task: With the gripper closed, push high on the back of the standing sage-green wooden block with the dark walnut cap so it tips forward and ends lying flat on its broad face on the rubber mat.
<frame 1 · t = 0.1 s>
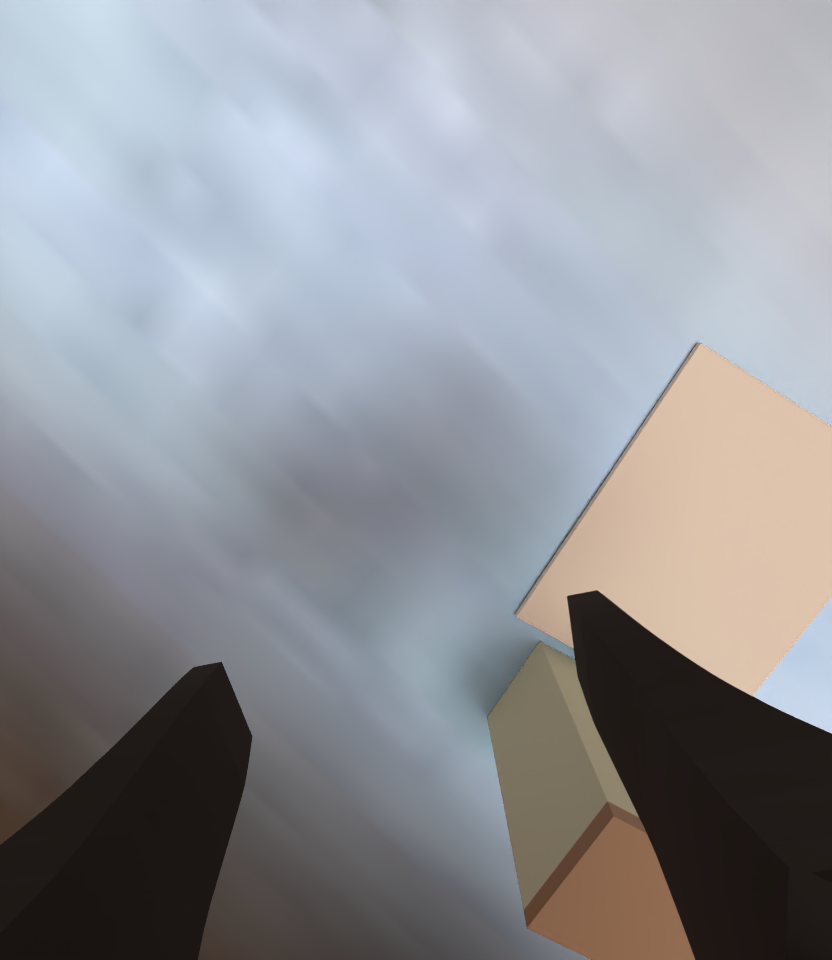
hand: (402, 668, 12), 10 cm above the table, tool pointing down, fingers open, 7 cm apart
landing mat: (709, 549, 22), on the table
sage block: (585, 718, 24), on the table
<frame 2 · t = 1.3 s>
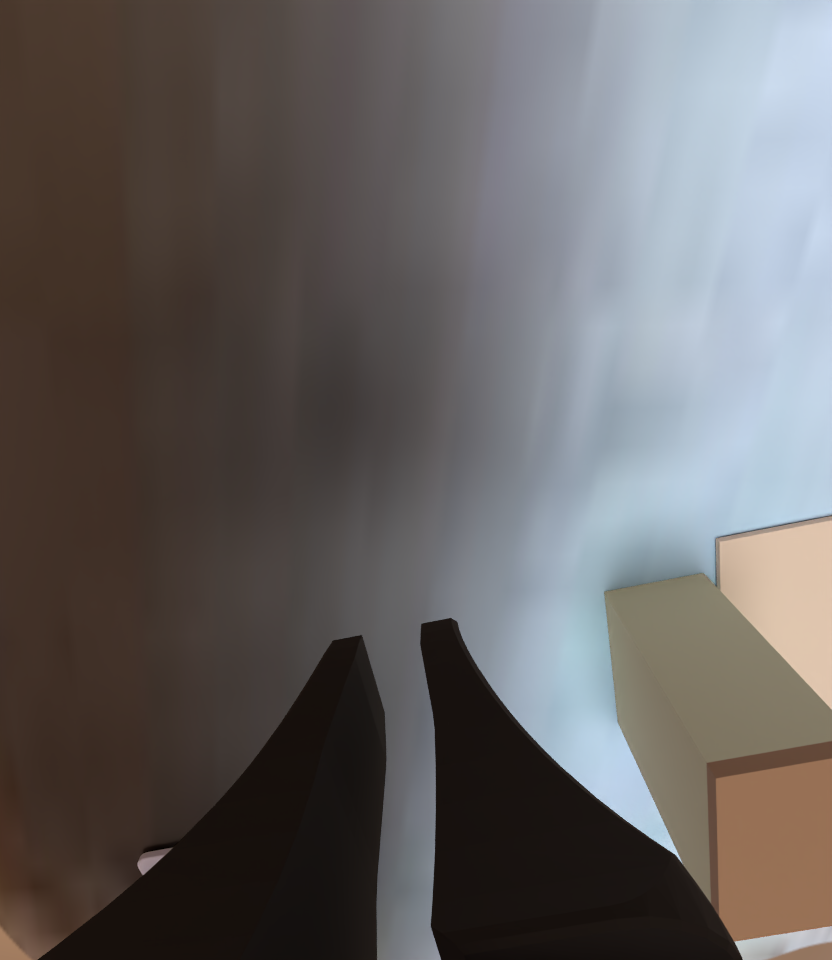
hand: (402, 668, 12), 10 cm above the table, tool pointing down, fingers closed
sage block: (658, 651, 25), on the table
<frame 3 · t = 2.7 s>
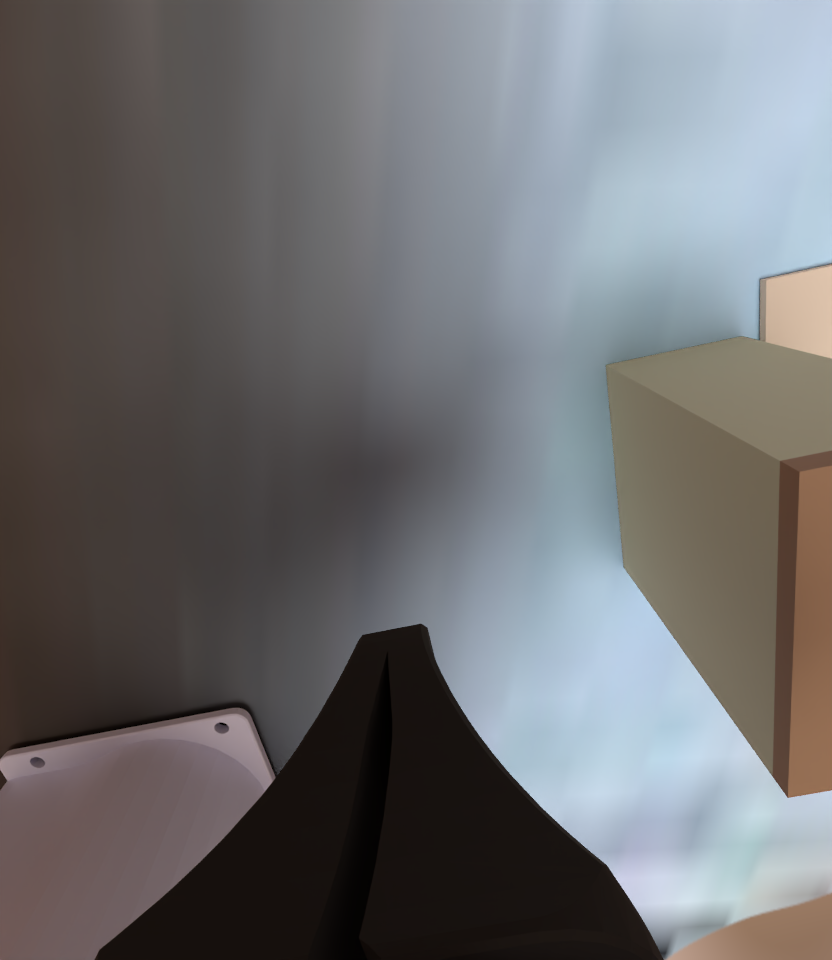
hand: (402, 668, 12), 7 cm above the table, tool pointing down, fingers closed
sage block: (678, 460, 18), on the table
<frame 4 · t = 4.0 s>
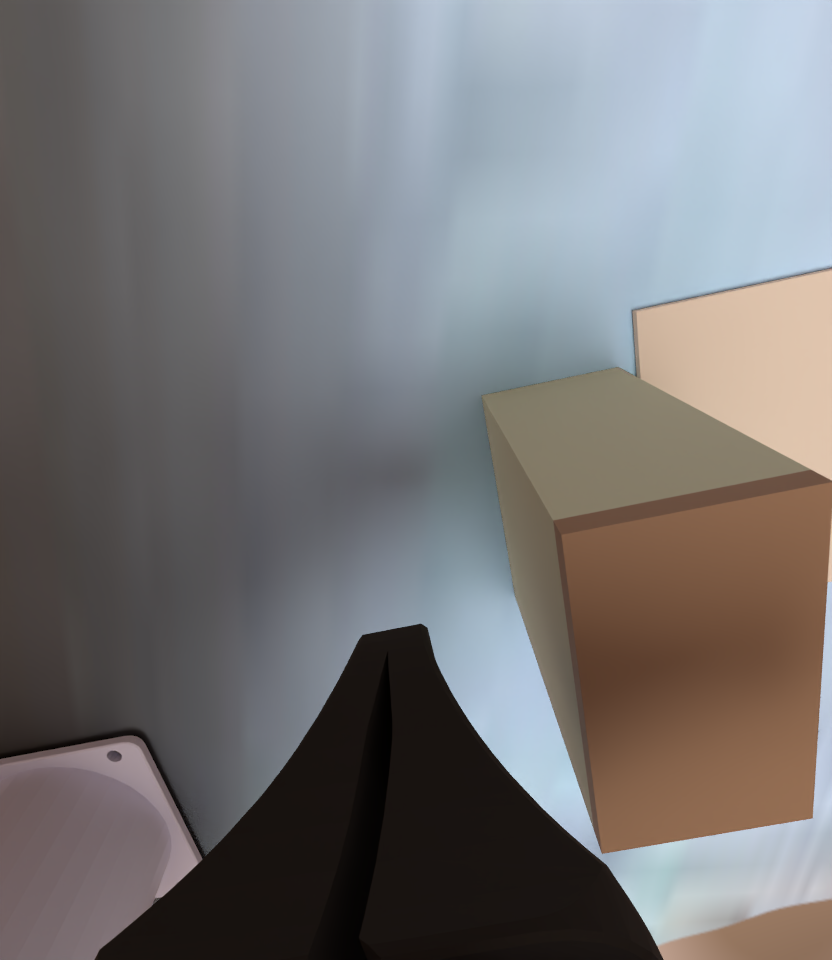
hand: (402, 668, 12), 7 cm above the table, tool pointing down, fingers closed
sage block: (562, 490, 18), on the table
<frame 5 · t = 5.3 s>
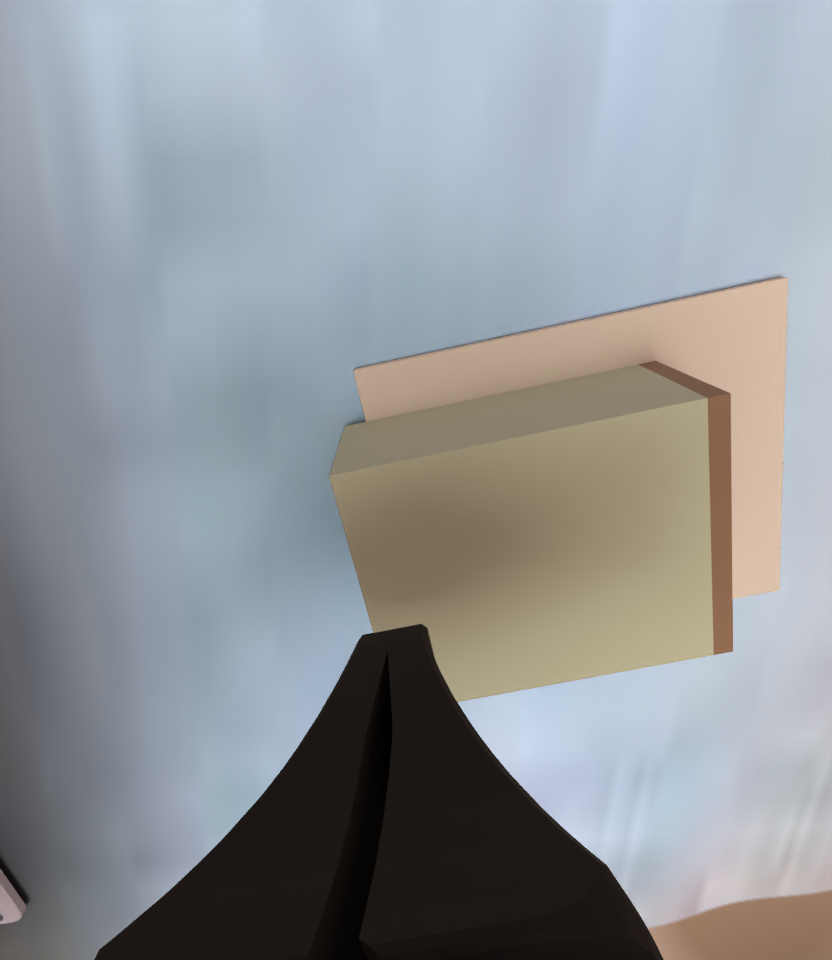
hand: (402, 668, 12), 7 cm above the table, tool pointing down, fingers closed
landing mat: (581, 486, 18), on the table
sage block: (369, 564, 16), point 2 cm above the table, tilted 90°, touching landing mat
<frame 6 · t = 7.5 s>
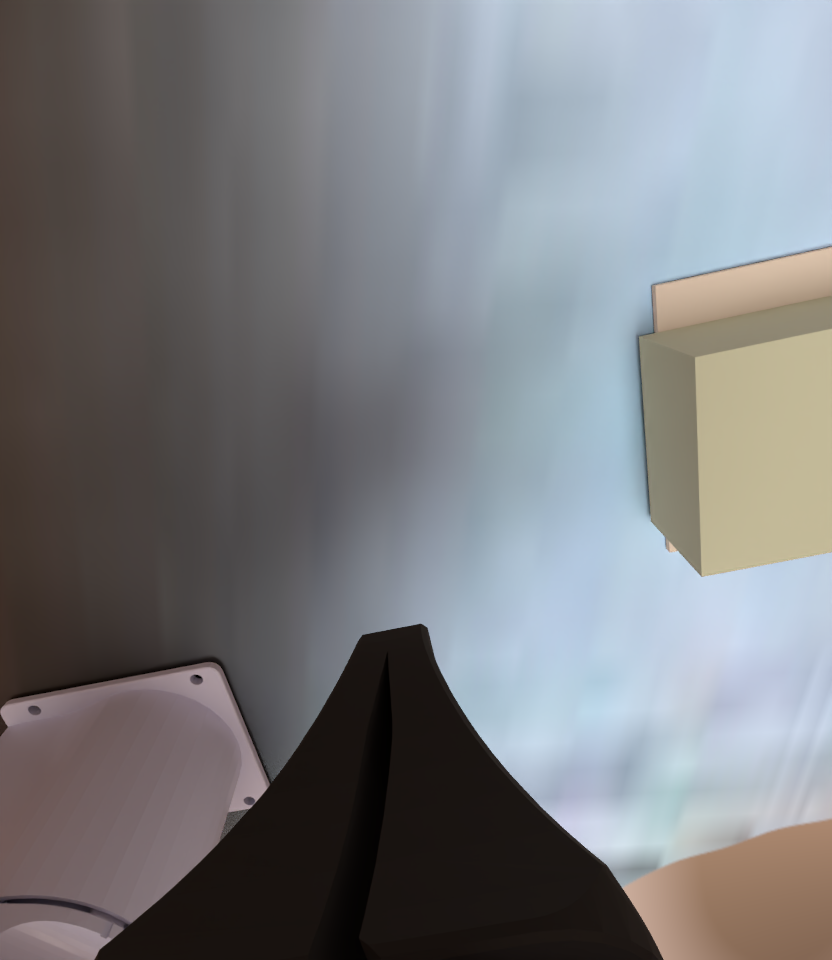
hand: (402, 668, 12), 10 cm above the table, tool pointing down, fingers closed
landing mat: (829, 394, 21), on the table
sage block: (669, 453, 19), point 2 cm above the table, tilted 90°, touching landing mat
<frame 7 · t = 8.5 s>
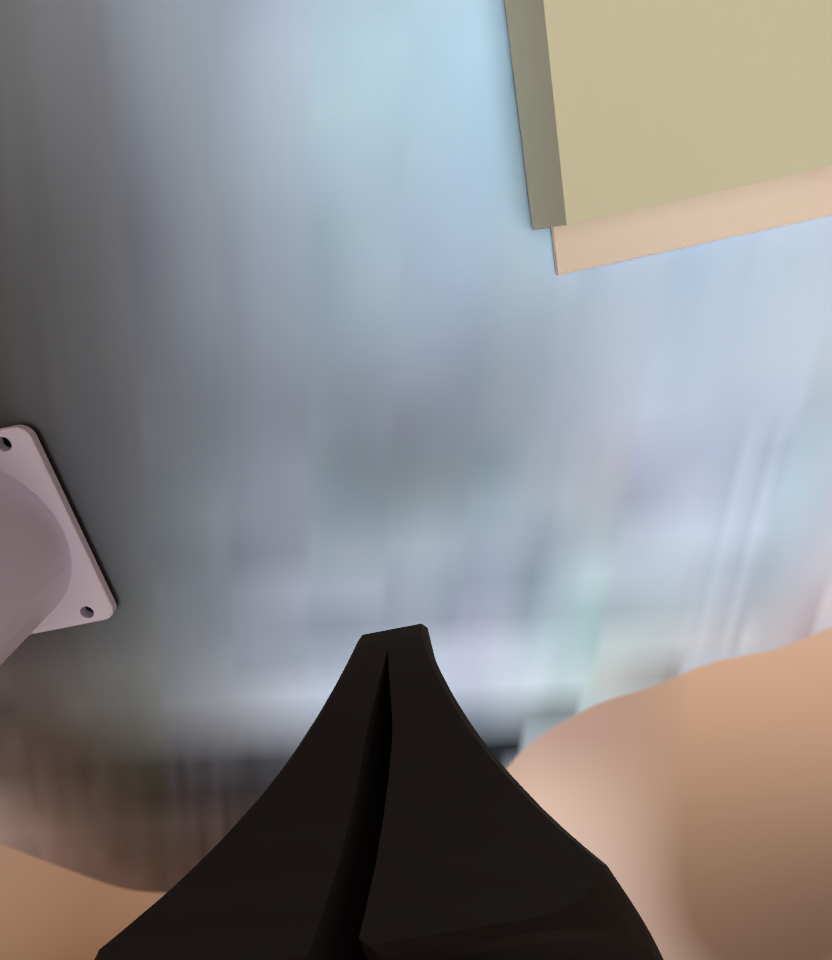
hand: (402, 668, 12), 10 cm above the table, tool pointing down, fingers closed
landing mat: (740, 51, 17), on the table
sage block: (531, 84, 15), point 2 cm above the table, tilted 90°, touching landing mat
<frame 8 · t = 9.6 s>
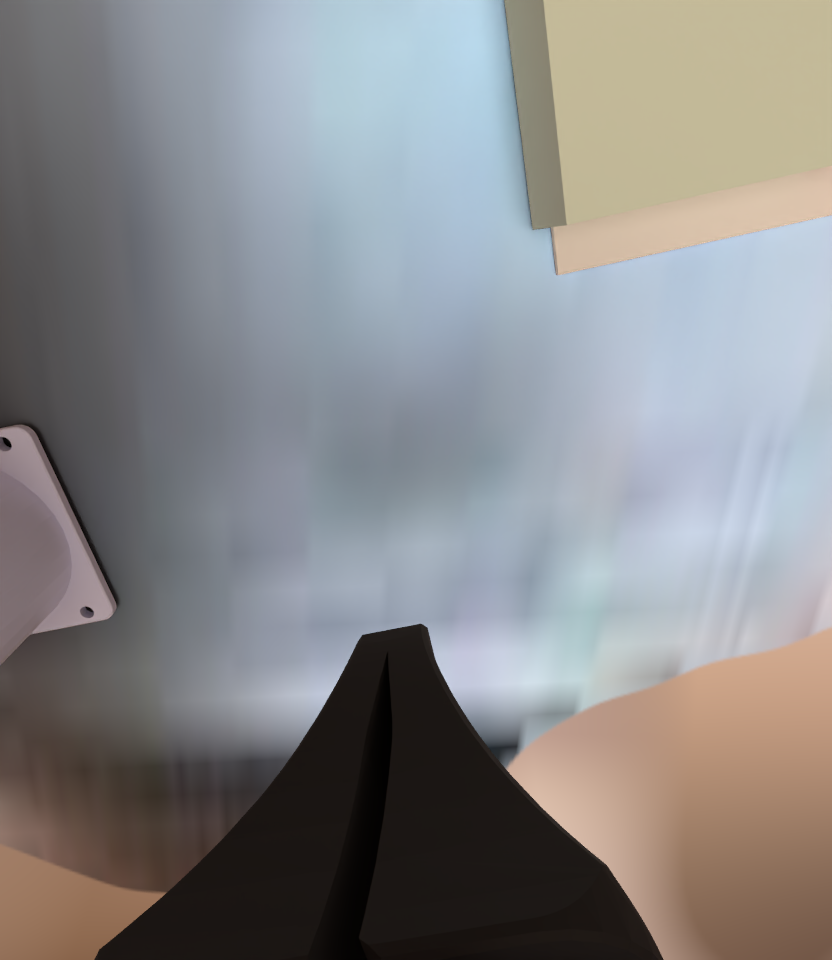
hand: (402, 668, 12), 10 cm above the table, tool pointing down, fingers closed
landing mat: (740, 51, 17), on the table
sage block: (531, 84, 15), point 2 cm above the table, tilted 90°, touching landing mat
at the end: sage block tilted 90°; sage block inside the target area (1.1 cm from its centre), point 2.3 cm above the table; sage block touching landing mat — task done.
